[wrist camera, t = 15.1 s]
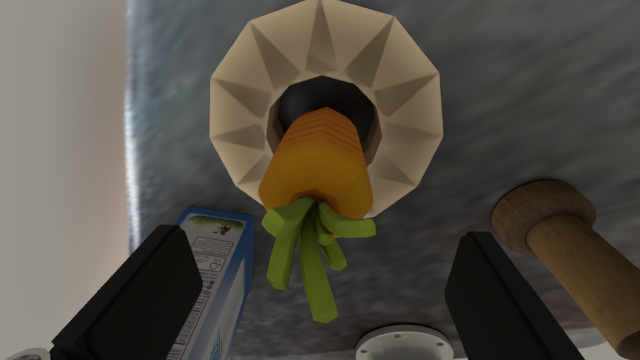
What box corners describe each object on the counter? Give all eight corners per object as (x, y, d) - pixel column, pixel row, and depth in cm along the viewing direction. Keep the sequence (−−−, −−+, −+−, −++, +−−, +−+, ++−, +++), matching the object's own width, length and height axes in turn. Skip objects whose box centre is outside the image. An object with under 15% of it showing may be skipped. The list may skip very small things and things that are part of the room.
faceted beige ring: (431, 173, 22) (448, 202, 19) (273, 207, 25) (263, 237, 21) (410, -33, 15) (431, -47, 12) (196, 45, 18) (163, 52, 15)
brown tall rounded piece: (500, 247, 26) (735, 582, 11) (481, 199, 23) (761, 559, 8) (579, 220, 24) (1016, 593, 8) (569, 165, 21) (1185, 567, 6)
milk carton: (188, 205, 25) (-116, 595, 8) (254, 215, 25) (87, 616, 8) (197, 274, 31) (23, 599, 14) (252, 282, 31) (146, 612, 14)
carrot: (295, 80, 19) (196, 212, 6) (365, 87, 19) (416, 236, 6) (293, 145, 21) (220, 334, 9) (355, 151, 21) (374, 352, 9)
